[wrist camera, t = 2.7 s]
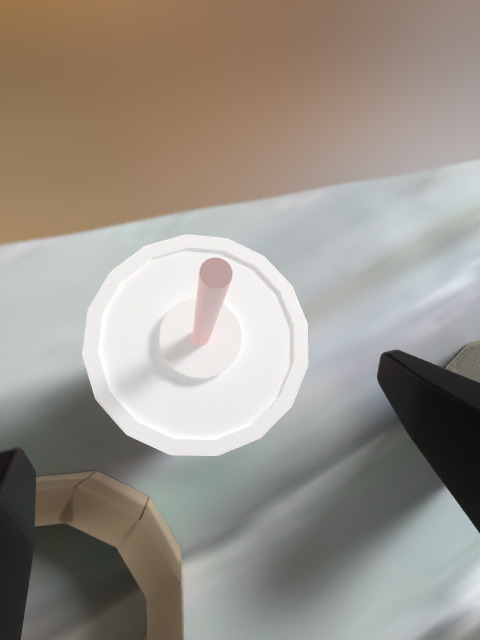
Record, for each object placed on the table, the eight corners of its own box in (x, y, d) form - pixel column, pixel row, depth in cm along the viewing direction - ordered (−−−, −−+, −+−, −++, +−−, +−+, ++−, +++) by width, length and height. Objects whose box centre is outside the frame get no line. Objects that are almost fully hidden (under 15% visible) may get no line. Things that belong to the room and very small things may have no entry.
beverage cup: (124, 319, 19) (-28, 94, 5) (242, 305, 20) (365, 87, 6) (137, 445, 18) (-20, 566, 4) (262, 422, 19) (468, 457, 5)
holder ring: (107, 791, 14) (84, 907, 11) (-128, 682, 14) (-225, 768, 11) (220, 530, 17) (229, 560, 14) (24, 435, 17) (-16, 442, 14)
